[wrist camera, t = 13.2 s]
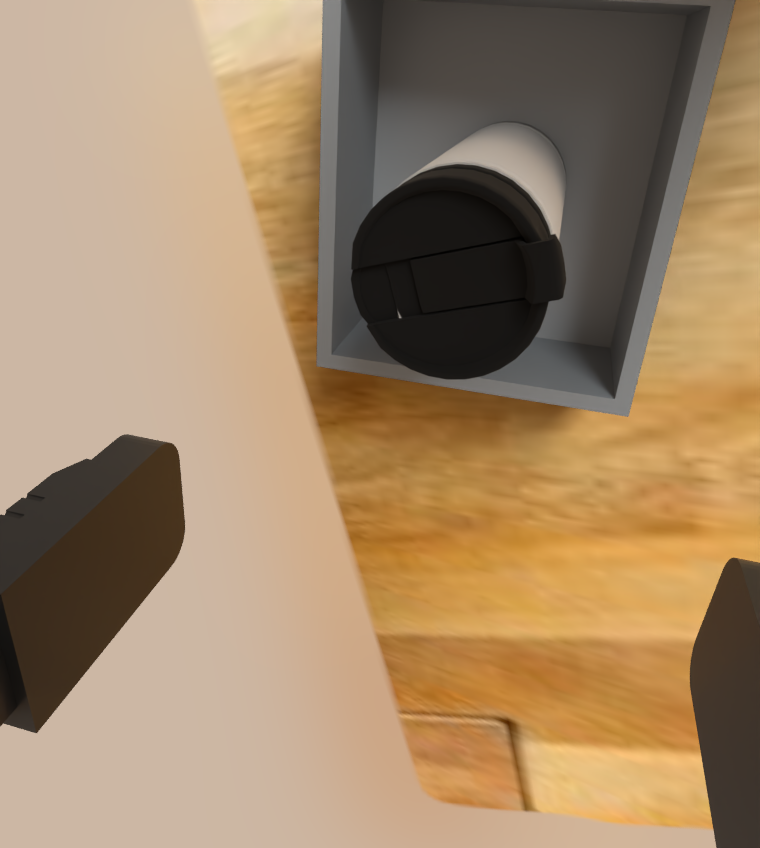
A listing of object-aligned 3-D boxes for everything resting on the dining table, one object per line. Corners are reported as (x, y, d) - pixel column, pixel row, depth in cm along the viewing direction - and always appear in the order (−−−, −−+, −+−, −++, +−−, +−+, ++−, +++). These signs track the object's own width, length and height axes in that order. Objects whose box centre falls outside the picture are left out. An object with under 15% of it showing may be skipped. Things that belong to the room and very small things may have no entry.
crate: (373, -20, 36) (323, -38, 29) (707, -3, 32) (740, -19, 26) (358, 318, 44) (316, 366, 37) (620, 356, 41) (628, 416, 34)
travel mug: (580, 229, 37) (579, 374, 20) (460, 253, 40) (367, 402, 22) (564, 104, 35) (546, 149, 18) (436, 137, 37) (311, 205, 20)
